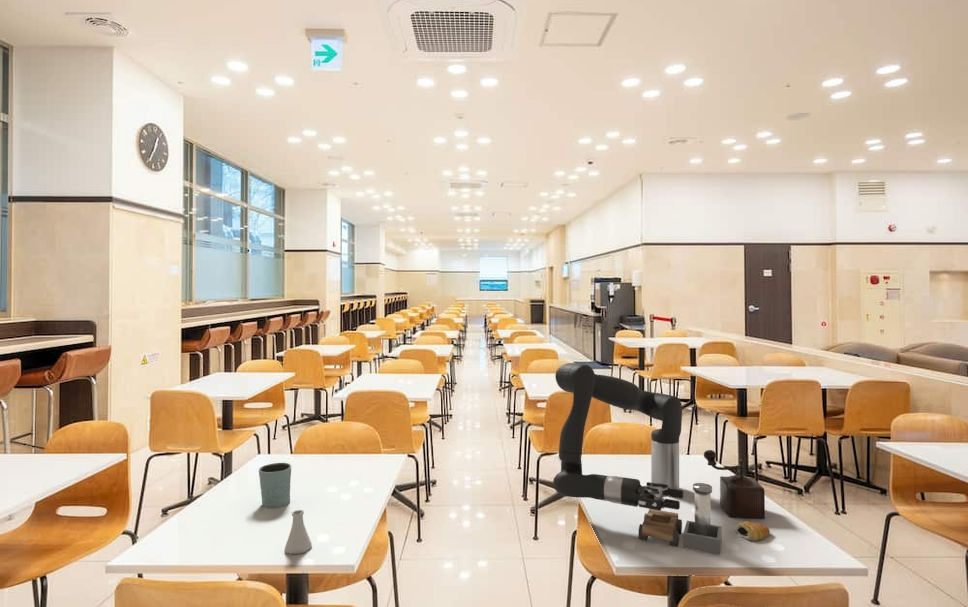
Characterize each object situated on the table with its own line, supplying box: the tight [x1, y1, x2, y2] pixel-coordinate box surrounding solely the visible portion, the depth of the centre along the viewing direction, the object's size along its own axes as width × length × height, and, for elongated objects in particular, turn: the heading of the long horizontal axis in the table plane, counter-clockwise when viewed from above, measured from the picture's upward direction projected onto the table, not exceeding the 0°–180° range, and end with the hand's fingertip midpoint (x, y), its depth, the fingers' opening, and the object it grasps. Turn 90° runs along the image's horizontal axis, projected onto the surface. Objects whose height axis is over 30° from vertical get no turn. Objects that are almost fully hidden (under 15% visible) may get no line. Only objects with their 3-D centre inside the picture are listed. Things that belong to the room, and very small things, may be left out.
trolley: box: [638, 509, 683, 548], centre depth 150 cm, size 14×10×5 cm
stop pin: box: [692, 482, 713, 537], centre depth 144 cm, size 5×5×15 cm
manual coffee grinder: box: [703, 449, 766, 520], centre depth 166 cm, size 16×11×18 cm
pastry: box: [733, 520, 770, 542], centre depth 150 cm, size 9×7×4 cm
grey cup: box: [258, 462, 292, 509], centre depth 175 cm, size 10×10×12 cm
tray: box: [682, 520, 723, 556], centre depth 144 cm, size 9×9×4 cm
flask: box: [284, 509, 313, 555], centre depth 144 cm, size 7×7×10 cm
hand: (681, 499), depth 147 cm, fingers open, 8 cm apart
